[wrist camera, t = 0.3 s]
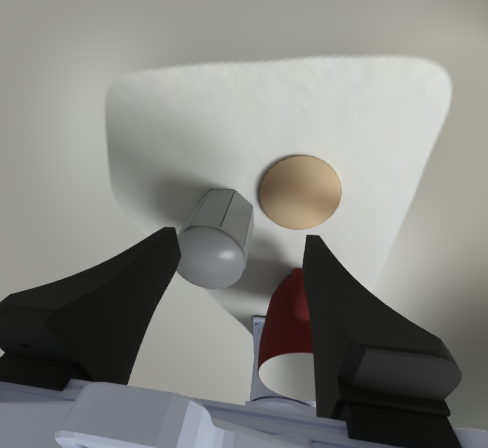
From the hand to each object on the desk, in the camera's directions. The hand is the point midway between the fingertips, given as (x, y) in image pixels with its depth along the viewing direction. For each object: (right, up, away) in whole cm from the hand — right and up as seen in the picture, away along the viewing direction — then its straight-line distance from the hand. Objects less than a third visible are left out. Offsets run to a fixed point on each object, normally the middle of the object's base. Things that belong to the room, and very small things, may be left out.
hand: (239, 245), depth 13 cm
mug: (+6, -5, +14) cm, 16 cm away
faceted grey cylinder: (-2, +2, +10) cm, 11 cm away
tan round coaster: (+5, +4, +8) cm, 10 cm away
